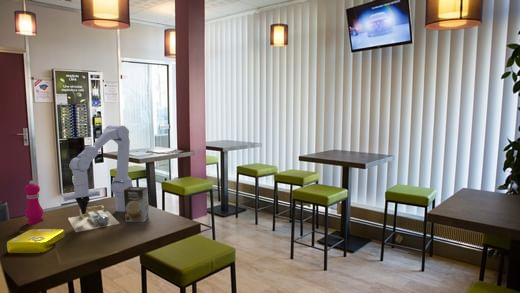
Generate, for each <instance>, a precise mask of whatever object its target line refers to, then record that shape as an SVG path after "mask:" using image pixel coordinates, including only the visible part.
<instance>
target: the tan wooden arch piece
mask: <svg viewBox="0 0 520 293" xmlns="http://www.w3.org/2000/svg"><path fill="white" fill-rule="evenodd" d="M100 210H103V212H104V213H105V212H106V211H105V206H104V205H103V204H102V205H96V206H87V208H86V214H82V213H81V209H80V208H79V216H81V218H84V216H85V215H88V212H92V211H93V212H94V213H95V214H97V211H100Z"/></svg>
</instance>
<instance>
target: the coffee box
mask: <svg viewBox="0 0 520 293" xmlns="http://www.w3.org/2000/svg"><path fill="white" fill-rule="evenodd" d="M148 190H149V189H148V187H147V186H133V187H128V188H126V189H125V190H124V201H125V211H124V218H125V222H127V223H129V222H132V223H144V222H146V221H148V219H149V217H150V215H149V214H150V213H149V195H148V192H149V191H148Z"/></svg>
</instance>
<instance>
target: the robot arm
mask: <svg viewBox="0 0 520 293" xmlns="http://www.w3.org/2000/svg"><path fill="white" fill-rule="evenodd" d="M129 134H130V130H129V128H128V127H126V126H125V125H111V124H110V125H107V126H106V127H105V128H104V129H103V132H102V133H101V135H99V136H98V138H97V139H96V140H95V141H94V143H93V144H92V145H87V146H85V147H84V150H82V151H81V152H80V153H79V154H78V155H77V156H76V157H74V158H72V159H71V160H70V162H69V164H68V167H69V169H70V170H71V173H72V176H73V178H72V179H73V187H74V188H73V189H74V193H72V194H68V195H67V194H66V195H64V196H63V202H67V201H72V200H74V201H76V203H77V204H78V206H79V210H80V209H81V213H82V214H86V208H88V204H89V202H90V198H91V197H99V196H101V192H100V191H99V190H96V191H95V190H94V191H93V190H92V191H90V189H89V179H88V178H89V176H88V169H89V168H90V165H91V163H92V162H93V160H94V159H95V158H96V157H97V156H98V155H99V153H100V152H99V151H100V149H101V148H102V147H104V146H105V145H106V144H107V143H108V142H109V141H111V140H112V141H114V142H115V143H116V145H117V154H116V155H117V157H116V158H117V159H116V175H115V177H113V178H112V183H111V185H110V190H111V192H112V193H113V195H114V203H115V204H114V205H115V212H119V213H121V212H124V213H125V201H124V190H125V189H126V188H128V187H134V186H133V179H132V178H131V177H130V176H129V166H130V164H129V163H130V146H131V145H130V144H131V143H130V142H131V141H130V137H129V136H130V135H129Z"/></svg>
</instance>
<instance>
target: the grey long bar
mask: <svg viewBox="0 0 520 293" xmlns="http://www.w3.org/2000/svg"><path fill="white" fill-rule="evenodd" d="M97 214H98V215H99V223H100V226H101V227H100V228H104V227H103V226H105V227H108V226H107V225H108V224H107V223H109V217H108V216H107V215H106V214H105V213H104V212H103V210H100V211H97Z"/></svg>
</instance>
